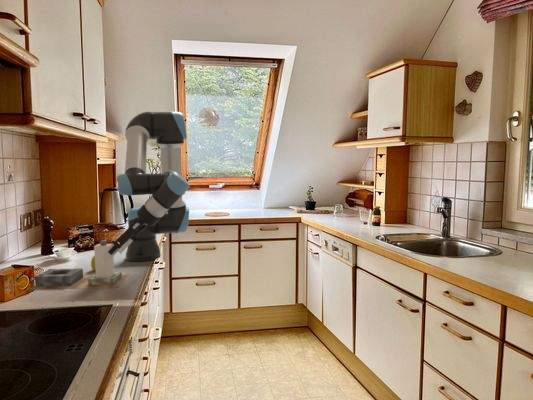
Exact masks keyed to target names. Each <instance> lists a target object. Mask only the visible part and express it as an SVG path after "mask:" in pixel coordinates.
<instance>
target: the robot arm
mask: <svg viewBox="0 0 533 400" xmlns="http://www.w3.org/2000/svg"><path fill="white" fill-rule="evenodd" d="M124 132H125V133H124V137H125V140H126V151H125V152H126V153H125V164H124V165H125V166H124V173H123V174H118V176H117V183H116V184H117V192H118V194H119V195H121V196H143V195H145V196H146V195H150V196H149V198H148V199H147V200H146V201H145V202H144V204H142V205H141V206H137V207H133V208H131V209H128V212H127V222H128V227H127V229H126V230H124V232H123V233H122V234H121V235H120V236H118V237H117V238H116V240H112V241H111V244H113V245H112V246H111V247H110V248H109V249H108V250H107V251H106V252H105V253H104V254H103V255H102V256H101V258H102V259H103V260H104V261H105V262H106V263H107V262H108V261H109V260H110V259H111V258H112V257H113V256H115V255H116V254H117V253H119V254H120V255H121V254H122V253H123V252H124V251H125V250H126V253H125V260H126V261H128V260H129V262H149V261H154V260H157V259H159V258H161V256H162V254H161V249H160V247H159V245H158V241H157V235H162V234H163V235H164V234H180V233H185V232H187V230H188V227H189V222H190V220H189V217H190V207H189V206H187V205H186V204H187V203H186V202H185V201H184V200H183V196H184V195H185V194H186V192H187V191H188V190H189V188H190V183H189V182H188V181H187V180H186V178H184V177H183V175H182V156H181V155H182V154H181V153H182V152H181V149H182V148H181V147H183V145H184V143H185V141H184V140H188V135H187V129H186V123H185V117H184V115H183V113H182V112H180V111H144V112H141V113H138V114H137V115H135V116H134V117H133V118H132V119H130V121H129V122H128V124H127V125H126V128H125V130H124ZM149 140H155V141H156V145H157V146H158V147H159V149H160V168H161V171H160V172H161V173H147V154H148V153H147V151H148V150H147V149H148V148H147V145H148V142H149Z"/></svg>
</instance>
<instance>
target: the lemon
mask: <svg viewBox="0 0 533 400" xmlns="http://www.w3.org/2000/svg"><path fill="white" fill-rule="evenodd" d="M90 267H91V269H92V271H93V272H96V270H95V255H93V257H92V258H91V261H90Z"/></svg>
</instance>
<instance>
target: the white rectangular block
mask: <svg viewBox="0 0 533 400" xmlns="http://www.w3.org/2000/svg"><path fill="white" fill-rule="evenodd" d="M112 245H113V243H108V240H107V239H103V240H99V243H98V244H95V245H93V249H94V256H95V270H96V271H95V274H96V278H112V277H113V276H115V275H114V273H115V260H114V256H115V255H114V256H113V257H112V258H111V259H110V260H109V261H108V262H107V263H106V262H105V261H104V260H103V259H102V258H101V256H102V255H103V254H104V253H105V252H106V251H107V250H108V249H109V248H110V247H111V246H112Z"/></svg>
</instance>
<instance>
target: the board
mask: <svg viewBox="0 0 533 400" xmlns="http://www.w3.org/2000/svg"><path fill="white" fill-rule="evenodd" d="M114 275H115V276H113V277H112V278H96V273H95V274H94V275H84V268H82V267H81V268H49V269H48V270H44V271H43V272H41V273H39V274H37V275H35V276H34V285H33V286H34V287H33V286H32V287H33V288H31V287H30V289H29V288H27V293H28V292H29V294H31V293H33V292H34V291H36V290H77V289H79V290H81V289H82V290H83V289H87V290H88V289H118V288H119V287H120V286H121V285H123V284H124V283H125V282H126V281H128V280H129V279H130V278H131V277H132V276H133V274H123V273H122V272H114Z"/></svg>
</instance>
